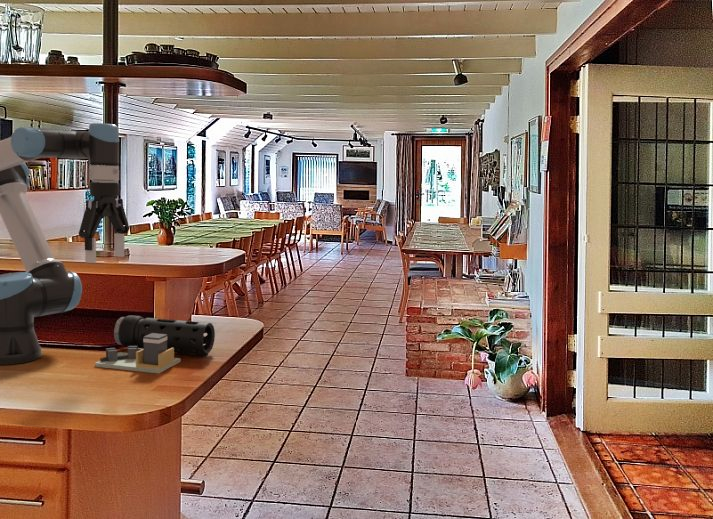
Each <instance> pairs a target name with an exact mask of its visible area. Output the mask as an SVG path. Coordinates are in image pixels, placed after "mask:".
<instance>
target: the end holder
mask: <svg viewBox="0 0 713 519" xmlns="http://www.w3.org/2000/svg"><path fill="white" fill-rule="evenodd" d="M174 358H175V353H174V348H170V349H168V350H166V351H164V352H162V353H160V354H158V365H150V364H144V349H141V350H139V351H138V350H137V352H136V367H145V368H154V369H162V368H163V367H165V366H167V365H169V364H171V363H173V362H174Z"/></svg>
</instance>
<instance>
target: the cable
mask: <svg viewBox="0 0 713 519" xmlns="http://www.w3.org/2000/svg"><path fill="white" fill-rule="evenodd" d="M121 359H128V355H120V356H118V360H121ZM99 361H101V362H104V361H108V357H106V356H105V357H104V356H103V357H100V358H99Z"/></svg>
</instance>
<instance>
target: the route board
mask: <svg viewBox="0 0 713 519" xmlns="http://www.w3.org/2000/svg"><path fill="white" fill-rule="evenodd" d="M141 349H142V348H137V346H128V347H127V352H123V351H119V352H118V349H116V347H110V348H105V357H108V361H104V362H101V361H100V360H99V361H96V362H94V367H96V368H97V367H98V368H104V369H116V370H122V371H123V370H125V371H133V372H143V373H149V374H158V375H159V374H161V373H162V372H163V373H164V371H167V370H168V369H170V368H171V367H173V366H175V365H177V364H179V363H181V358H180V357H174V362H173V363H171V364H169V365H167V366H165V367H163V368H162V369H154V368H145V367H136V352H137V351H139V350H141ZM120 355H128V359H121V360H118V356H120Z"/></svg>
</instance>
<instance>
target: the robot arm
mask: <svg viewBox="0 0 713 519" xmlns="http://www.w3.org/2000/svg"><path fill="white" fill-rule="evenodd" d="M41 158H50V159H51V158H53V159H55V158H56V159H58V158H59V159H70V160H71V159H74V160H77V159H78V160H79V159H80V160H81V159H84V160H86V159H87V160H88V159H89V163H88V164H89V180H91V182H90V183H89V195H90V196H91V197H93V200H92V199H91V200H89V199H87V200H85V208H84V213H83V216H82V220H81V223H80V227H79V230H78V236H79V237H80V238H81V239H82V238H83V239H84V254H85V255H84V256H85V258H84V262H85V263H88V264H91V263H92V264H96V263H97V242H96V241H97V239H96V238H95V234H96V233H97V230H98V228H99V226H100V224H101V221H102V219H104V218H105V217H107V218H108V219H109V222H111V226H112V227H113V229H114V230H115V232H116V233H114V234H113V235H114V237H113V239H114V240H113V241H114V245H113V247H114V257H119V258H124V257H125V234H126V235H127V234H129V231H130V225H129V222H128V217H127V215H126V212H125V208H124V202H123V201H124V200H123V198H118V197H119V196H120V183H119V182H118V181H120V137H119V128H118V126H117V125H116V124H112V123H99V122H97V123H96V122H93V123H90V124H89V126H88V131H87V130H69V129H56V128H42V127H41V128H40V127H34V126H25V127H17V128H16V129H14V132H13V133H12V134H11V136H9V137H8V138H4V139H1V140H0V217H1V219H2V221H3V223H4V225H5V228H6V230H7V232H8V235H9V236H10V239H11V241H12V243H13V246H14V247H15V250H16V252H17V255H18V256H19V258H20V261H21V263H22V265H23V267H24V270H25V271H17V272H9V273H2V274H0V366H6V365H18V364H23V363H30V362H33V361H35V360H38V359H40V358H41V357H42V346H41V345H40V343H39V340H38V337H37V334H36V331H35V326H34V324H35V323H34V322H35V319H34V318H36V317H42V316H48V315H53V314H62V313H65V312H68V311H71V310H73V309H75V308H76V307H77V306H78V305H79V304H80V301H81V298H82V294H83V284H82V280H81V278H80V277H79V275H78V274H77V273H76V272H74V271H71V270H67V269H66V267H65V265H64V263H63V261H60V260H57V259H55V256H54V254H53V251H52V249H51V247H50V246H49V243H48V241H47V239H46V237H45V234H44V233H43V230H42V229H41V226H40V224H39V222H38V220H37V217H36V215H35V213H34V211H33V209H32V207H31V204H30V202H29V200H28V199H27V196H26V194H27V192H28V188H29V185H30V179H31V178H30V177H29V175H30V170H29V168H28V166H27V164H26V163H28V162H32V161H34V160H38V159H41ZM116 197H117V198H116Z"/></svg>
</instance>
